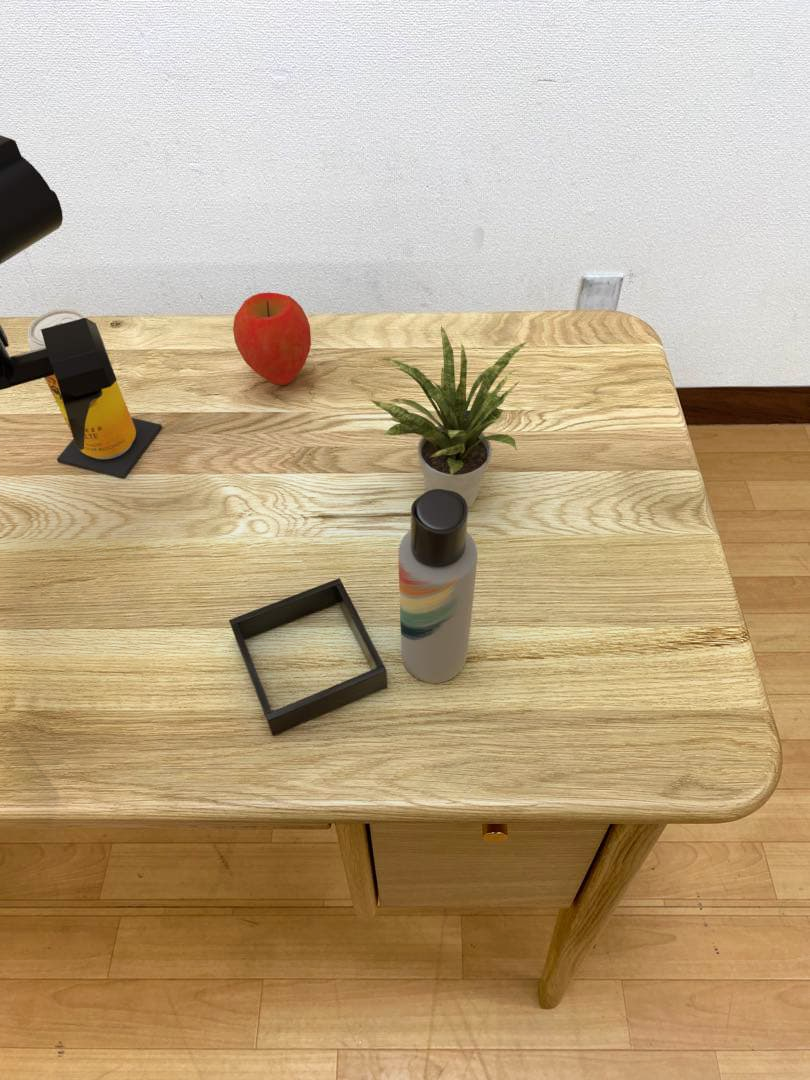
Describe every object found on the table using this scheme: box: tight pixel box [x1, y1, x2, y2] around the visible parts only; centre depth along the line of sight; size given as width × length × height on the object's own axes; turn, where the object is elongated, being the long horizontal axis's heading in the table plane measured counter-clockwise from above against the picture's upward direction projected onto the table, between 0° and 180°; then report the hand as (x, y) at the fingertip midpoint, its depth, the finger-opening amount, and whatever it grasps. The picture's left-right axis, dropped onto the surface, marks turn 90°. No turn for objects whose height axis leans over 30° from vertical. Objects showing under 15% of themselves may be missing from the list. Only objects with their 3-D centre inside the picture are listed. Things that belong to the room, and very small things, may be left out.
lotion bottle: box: [397, 489, 478, 684], centre depth 59 cm, size 6×6×20 cm
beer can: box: [27, 308, 136, 459], centre depth 76 cm, size 6×6×15 cm
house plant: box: [368, 324, 528, 509], centre depth 72 cm, size 14×14×16 cm
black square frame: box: [228, 577, 388, 737], centre depth 65 cm, size 10×10×3 cm
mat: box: [56, 417, 163, 479], centre depth 83 cm, size 8×8×1 cm
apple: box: [232, 292, 312, 386], centre depth 85 cm, size 9×8×11 cm
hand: (24, 463), depth 63 cm, fingers open, 9 cm apart
